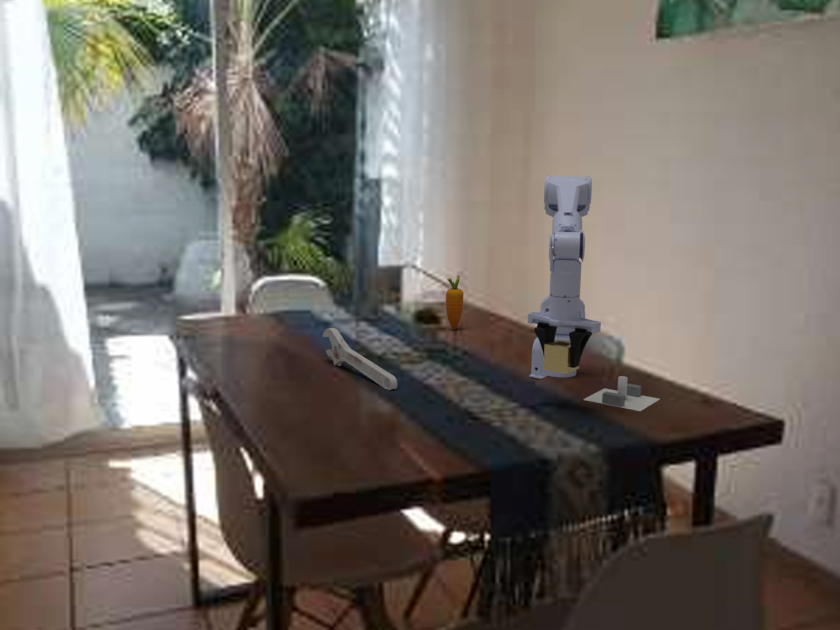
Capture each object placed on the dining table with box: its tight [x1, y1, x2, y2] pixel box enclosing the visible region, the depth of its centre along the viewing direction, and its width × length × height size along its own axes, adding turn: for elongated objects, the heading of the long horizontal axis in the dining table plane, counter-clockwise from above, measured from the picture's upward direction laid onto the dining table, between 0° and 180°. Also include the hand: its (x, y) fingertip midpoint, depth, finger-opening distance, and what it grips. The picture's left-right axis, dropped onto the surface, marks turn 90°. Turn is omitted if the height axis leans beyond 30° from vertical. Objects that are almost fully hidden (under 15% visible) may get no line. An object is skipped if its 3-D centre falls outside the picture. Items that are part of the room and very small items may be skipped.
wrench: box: [322, 327, 398, 391], centre depth 198 cm, size 8×2×30 cm
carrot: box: [445, 274, 464, 331], centre depth 242 cm, size 5×5×15 cm
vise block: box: [583, 375, 661, 412], centre depth 178 cm, size 12×10×6 cm
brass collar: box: [544, 340, 580, 374], centre depth 172 cm, size 5×5×5 cm
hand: (561, 364), depth 173 cm, fingers closed on brass collar, 5 cm apart
